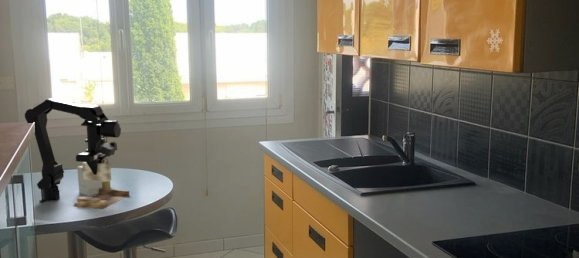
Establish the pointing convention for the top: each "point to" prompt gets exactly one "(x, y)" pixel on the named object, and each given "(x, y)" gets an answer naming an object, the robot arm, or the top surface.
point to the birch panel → (102, 172)
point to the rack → (110, 196)
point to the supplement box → (87, 184)
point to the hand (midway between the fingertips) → (96, 174)
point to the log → (107, 183)
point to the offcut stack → (91, 202)
